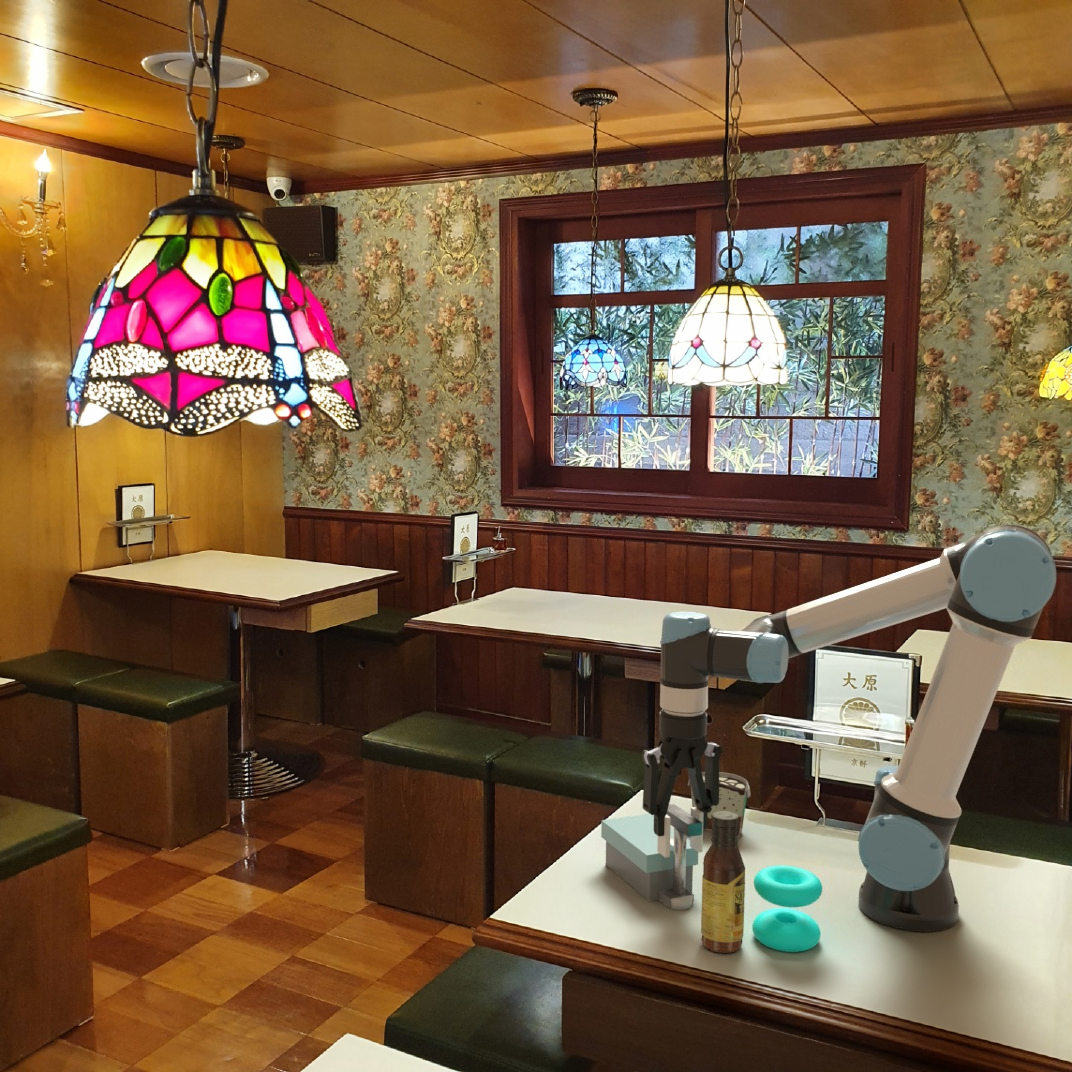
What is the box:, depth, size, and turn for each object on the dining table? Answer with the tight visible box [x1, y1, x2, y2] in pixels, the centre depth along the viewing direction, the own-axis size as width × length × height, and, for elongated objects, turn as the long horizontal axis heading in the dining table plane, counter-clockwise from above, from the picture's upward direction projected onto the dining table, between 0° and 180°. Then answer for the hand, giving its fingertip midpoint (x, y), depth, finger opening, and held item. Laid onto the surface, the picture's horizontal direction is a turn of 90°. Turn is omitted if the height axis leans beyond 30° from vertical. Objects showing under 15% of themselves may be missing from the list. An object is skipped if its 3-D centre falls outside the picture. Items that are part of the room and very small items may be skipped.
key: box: [667, 803, 702, 895], centre depth 175 cm, size 9×2×13 cm, turn 23°
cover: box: [600, 813, 699, 873], centre depth 185 cm, size 17×10×3 cm, turn 23°
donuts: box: [751, 864, 823, 953], centre depth 164 cm, size 10×10×10 cm
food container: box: [687, 771, 752, 838], centre depth 209 cm, size 12×6×10 cm, turn 58°
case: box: [605, 840, 695, 911], centre depth 183 cm, size 21×8×5 cm, turn 23°
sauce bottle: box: [700, 811, 746, 954], centre depth 161 cm, size 6×6×20 cm
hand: (679, 851), depth 175 cm, fingers open, 5 cm apart
